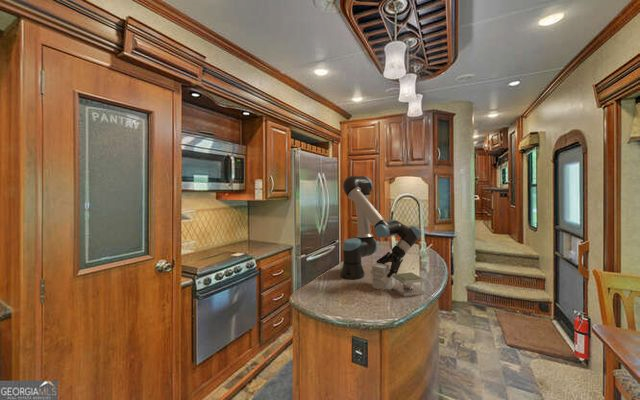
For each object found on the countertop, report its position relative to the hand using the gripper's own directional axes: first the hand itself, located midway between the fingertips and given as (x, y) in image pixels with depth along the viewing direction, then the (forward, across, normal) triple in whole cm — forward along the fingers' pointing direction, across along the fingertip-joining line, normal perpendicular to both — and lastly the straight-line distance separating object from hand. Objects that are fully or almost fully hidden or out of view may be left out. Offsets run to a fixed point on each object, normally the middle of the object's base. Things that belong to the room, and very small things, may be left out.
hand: (377, 277), depth 153 cm
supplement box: (+3, 0, -6) cm, 6 cm away
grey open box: (-5, -10, -13) cm, 18 cm away
